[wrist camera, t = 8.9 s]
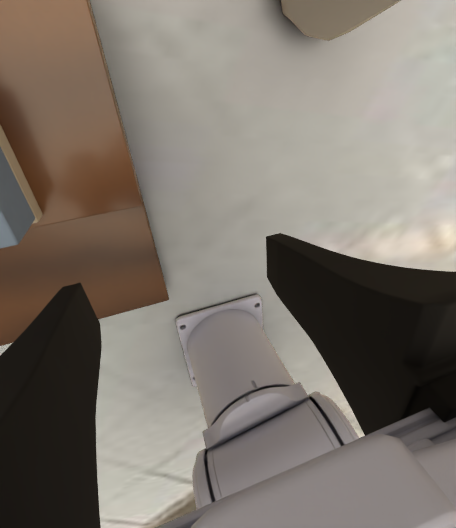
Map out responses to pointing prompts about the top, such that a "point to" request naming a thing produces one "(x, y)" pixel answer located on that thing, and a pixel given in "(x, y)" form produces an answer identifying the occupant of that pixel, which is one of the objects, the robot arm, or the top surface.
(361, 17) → the salt shaker
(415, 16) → the top surface
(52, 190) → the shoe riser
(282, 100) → the top surface
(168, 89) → the top surface
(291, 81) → the top surface
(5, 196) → the blue stepped block
